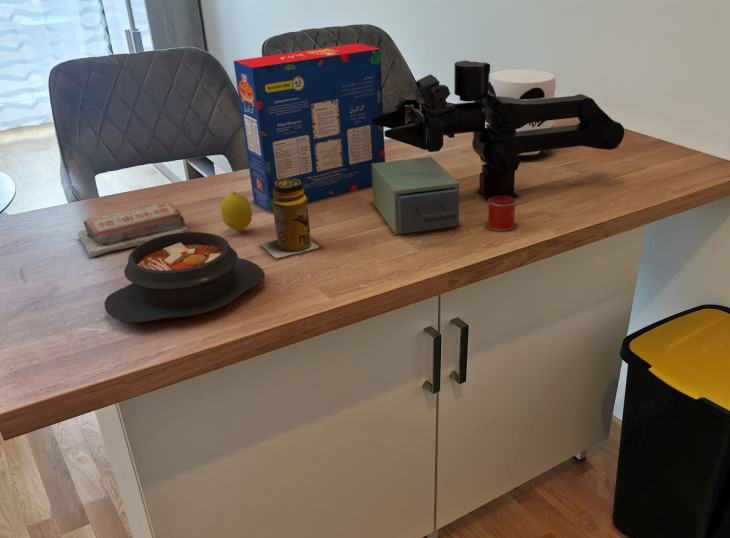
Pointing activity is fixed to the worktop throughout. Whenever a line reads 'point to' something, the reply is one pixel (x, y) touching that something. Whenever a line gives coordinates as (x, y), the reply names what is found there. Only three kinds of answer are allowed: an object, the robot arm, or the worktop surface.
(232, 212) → the lemon
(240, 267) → the casserole
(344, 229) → the worktop surface
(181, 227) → the packaged product
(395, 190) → the cabinet
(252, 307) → the worktop surface
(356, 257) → the worktop surface
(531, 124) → the milk container
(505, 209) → the can
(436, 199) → the drawer
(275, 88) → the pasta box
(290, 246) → the condiment
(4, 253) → the worktop surface
